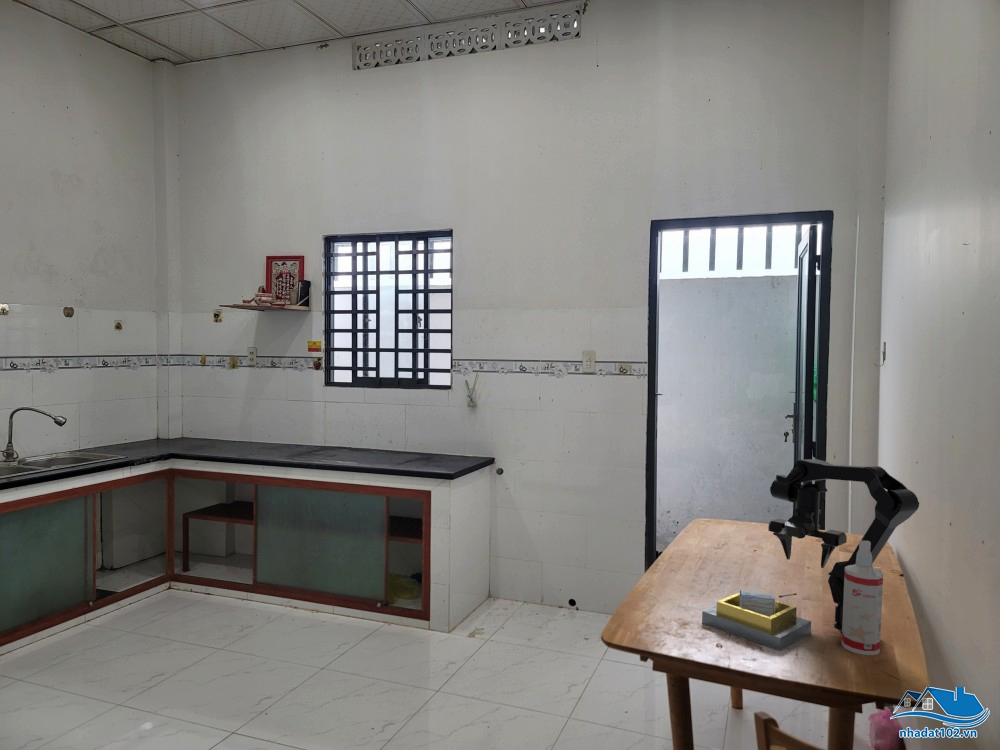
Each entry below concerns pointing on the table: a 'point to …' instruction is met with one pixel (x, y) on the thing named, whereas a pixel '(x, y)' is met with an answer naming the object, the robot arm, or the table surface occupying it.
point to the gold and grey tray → (758, 623)
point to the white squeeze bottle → (862, 604)
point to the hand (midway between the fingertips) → (805, 563)
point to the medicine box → (757, 602)
